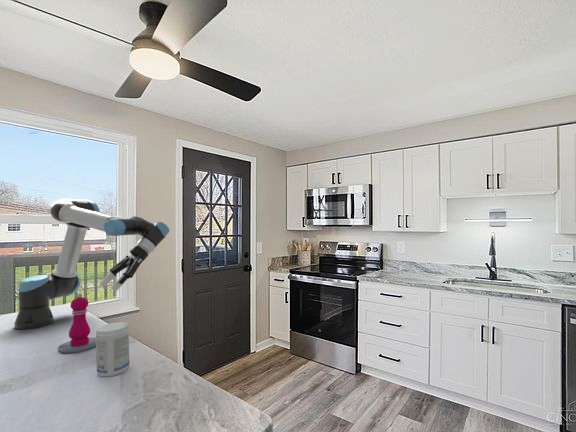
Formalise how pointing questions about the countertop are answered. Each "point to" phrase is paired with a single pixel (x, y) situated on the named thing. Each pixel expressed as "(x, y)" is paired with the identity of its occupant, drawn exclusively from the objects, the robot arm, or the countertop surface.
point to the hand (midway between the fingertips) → (107, 287)
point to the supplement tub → (112, 349)
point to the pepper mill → (79, 322)
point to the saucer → (69, 349)
